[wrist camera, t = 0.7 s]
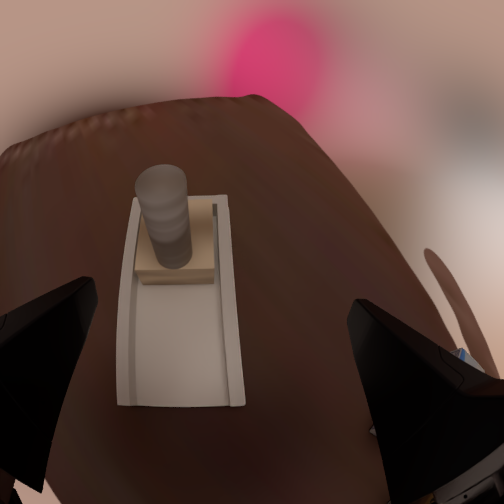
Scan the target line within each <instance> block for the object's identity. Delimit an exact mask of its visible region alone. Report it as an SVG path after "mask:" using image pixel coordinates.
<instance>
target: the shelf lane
mask: <svg viewBox="0 0 504 504" xmlns="http://www.w3.org/2000/svg"><path fill="white" fill-rule="evenodd" d="M195 199H212V209H213V245H214V284H181V285H142V283H141V281H140V279H139V277H138V276H137V274H136V272H135V260H136V252H137V244H138V236H139V229H140V222H141V216H142V212H141V208H140V205H139V202H138V198H137V197H135V198H134V199H133V203H132V208H131V214H130V219H129V225H128V230H127V236H126V243H125V250H124V257H123V264H122V273H121V282H120V292H119V304H118V318H117V342H116V384H117V405H124V406H135V405H140V406H159V407H208V406H228V405H229V406H231V407H232V406H244V405H245V404H246V401H245V392H244V382H243V372H242V362H241V352H240V341H239V330H238V319H237V308H236V296H235V284H234V271H233V259H232V245H231V231H230V217H229V208H228V200H227V195H217V196H188V200H195Z"/></svg>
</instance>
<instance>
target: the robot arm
mask: <svg viewBox="0 0 504 504" xmlns="http://www.w3.org/2000/svg"><path fill="white" fill-rule="evenodd" d="M97 304H98V296H97V291H96V286H95V281H94V279H93V278H92V277H86V276H82V277H80V278H77V279H75V280H73V281H71V282H69V283H67V284H65V285H63V286H60V287H58V288H56V289H54V290H52V291H50V292H48V293H46V294H44V295H42V296H40V297H38V298H36V299H34V300H32V301H30V302H28V303H26V304H24V305H22V306H20V307H18V308H16V309H14V310H12V311H10V312H8V314H4V315H3V316H1V317H0V504H22V502H21V500H20V498H19V496H18V494H17V491H16V489H14V488H13V487H14V483H15V479H17V480H18V481H20V482H22V483H23V484H25V485H27V486H29V487H30V488H32V489H34V490H36V491H37V492H39V493H42V490H43V484H44V478H45V472H46V467H47V462H48V457H49V453H50V448H51V444H52V442H51V441H52V439H53V436H54V432H55V428H56V424H57V421H58V417H59V414H60V411H61V407H62V404H63V401H64V398H65V395H66V392H67V389H68V386H69V383H70V380H71V377H72V375H73V372H74V369H75V366H76V364H77V361H78V359H79V356H80V354H81V351H82V349H83V346H84V344H85V341H86V338H87V335H88V332H89V329H90V326H91V322H92V319H93V316H94V313H95V310H96V307H97ZM347 325H348V330H349V335H350V339H351V344H352V349H353V354H354V358H355V362H356V365H357V368H358V372H359V375H360V378H361V382H362V385H363V388H364V392H365V395H366V399H367V402H368V406H369V409H370V413H371V417H372V420H373V424H374V428H375V432H376V436H377V440H378V444H379V448H380V452H381V456H382V460H383V466H384V471H385V475H386V480H387V485H388V490H389V495H390V500H391V504H410V503H412V502H414V501H417V500H419V499H421V498H423V497H425V496H427V495H429V494H431V493H432V494H433V497H434V500H435V501H434V502H432V503H430V504H504V379H496V378H493V377H491V376H489V375H487V374H485V373H484V372H482V371H480V370H478V369H477V368H475V367H473V366H471V365H470V364H468V363H466V362H465V361H463V360H461V359H459V358H458V357H456V356H455V355H453V354H451V353H450V352H448V351H447V350H445V349H444V348H442V347H441V346H438V345H437V344H436V343H434V342H433V341H431V340H430V339H428V338H427V337H425V336H424V335H422V334H420V333H419V332H417V331H416V330H414V329H413V328H411V327H410V326H408V325H406V324H405V323H403V322H402V321H400V320H399V319H397V318H395V317H394V316H392V315H391V314H389V313H388V312H386V311H384V310H383V309H381V308H380V307H378V306H376V305H375V304H373V303H372V302H370V301H369V300H367V299H355V300H354V302H353V304H352V307H351V310H350V312H349V315H348V318H347Z"/></svg>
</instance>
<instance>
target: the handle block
mask: <svg viewBox="0 0 504 504" xmlns="http://www.w3.org/2000/svg"><path fill="white" fill-rule="evenodd" d="M135 191H136V195H137V198H138V202H139V205H140V208H141V212H142V216H141V222H140V229H139V236H138V244H137V252H136V260H135V272H136V274H137V276H138V277H139V279H140V281H141V283H142V285H181V284H214V245H213V209H212V199H195V200H188V196H187V182H186V176H185V174H184V172H183V171H182V170H181V169H180V168H178V167H176V166H173V165H157V166H153V167H151V168H148V169H147V170H145V171H144V172H142V173H141V174H140V175H139V177H138V178H137V180H136V183H135Z"/></svg>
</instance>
